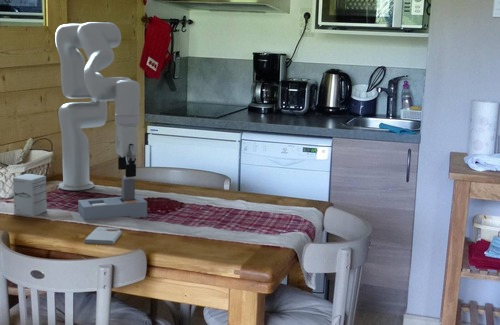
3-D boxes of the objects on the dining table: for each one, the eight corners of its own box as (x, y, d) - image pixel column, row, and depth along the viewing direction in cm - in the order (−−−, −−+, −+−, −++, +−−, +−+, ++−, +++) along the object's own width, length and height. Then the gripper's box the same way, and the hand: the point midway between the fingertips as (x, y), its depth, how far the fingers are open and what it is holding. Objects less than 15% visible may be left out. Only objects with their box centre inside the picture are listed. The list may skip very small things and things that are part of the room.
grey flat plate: (47, 217, 209) (47, 214, 209) (69, 215, 212) (69, 212, 212) (50, 224, 202) (50, 220, 202) (74, 221, 205) (74, 218, 205)
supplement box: (13, 216, 209) (11, 177, 207) (28, 210, 216) (27, 172, 213) (33, 219, 207) (31, 179, 204) (47, 213, 213) (46, 175, 211)
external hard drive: (84, 244, 186) (96, 231, 198) (113, 246, 186) (123, 232, 198) (84, 239, 186) (96, 226, 198) (113, 240, 185) (123, 227, 198)
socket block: (78, 215, 212) (78, 199, 211) (139, 209, 221) (139, 194, 220) (83, 222, 204) (83, 206, 203) (147, 217, 213) (147, 201, 212)
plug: (121, 207, 215) (121, 174, 213) (132, 207, 216) (131, 173, 214) (124, 210, 212) (124, 176, 210) (134, 209, 213) (134, 176, 211)
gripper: (109, 115, 215) (109, 167, 219) (121, 125, 199) (121, 180, 203) (132, 115, 218) (131, 166, 222) (146, 124, 202) (145, 178, 206)
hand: (126, 172), depth 212 cm, fingers open, 9 cm apart
